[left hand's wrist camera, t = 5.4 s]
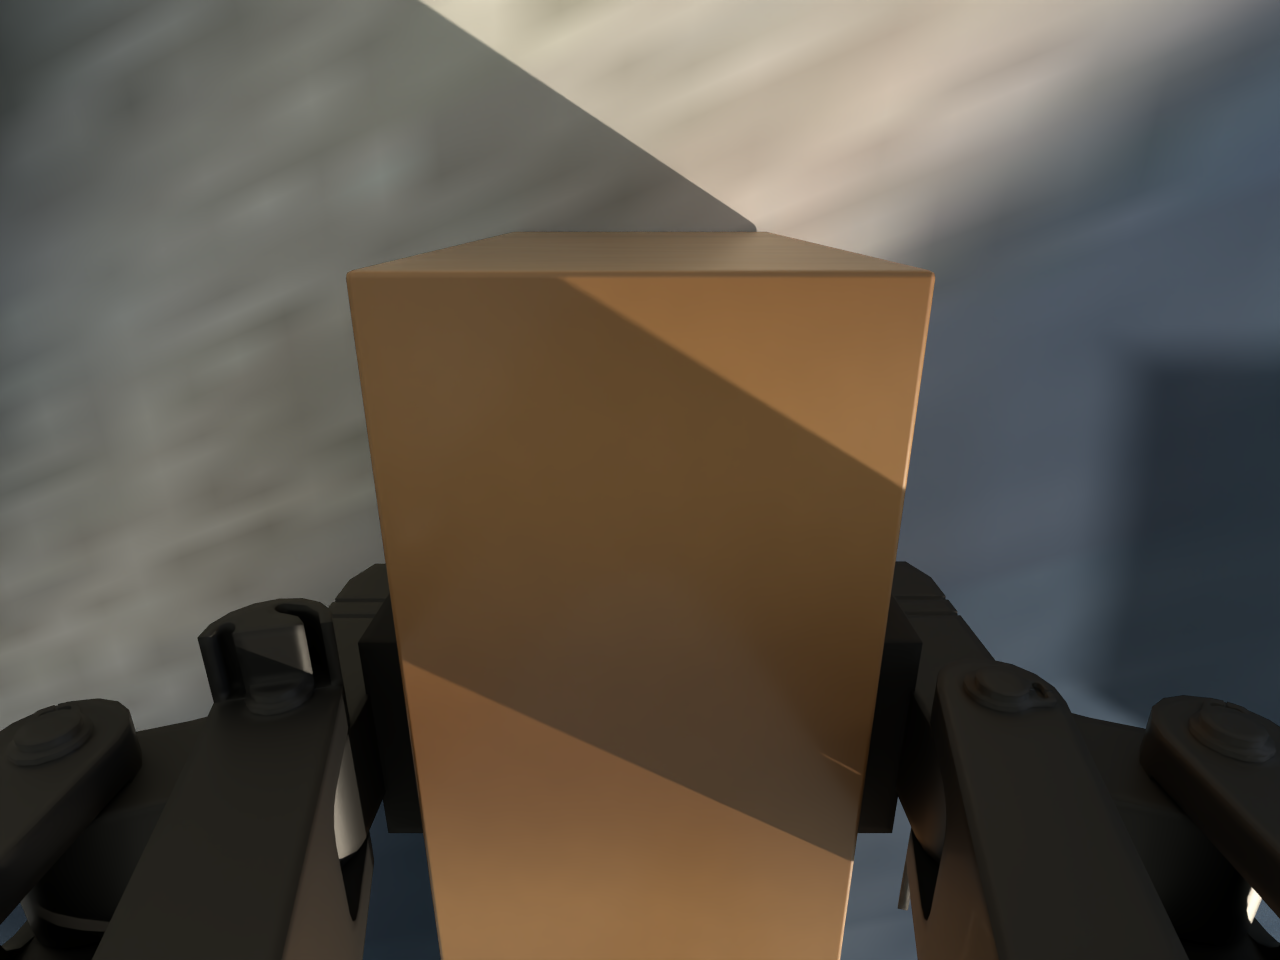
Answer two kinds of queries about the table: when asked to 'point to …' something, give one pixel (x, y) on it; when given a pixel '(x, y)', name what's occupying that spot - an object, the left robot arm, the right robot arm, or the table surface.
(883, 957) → the table surface
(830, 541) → the beam
